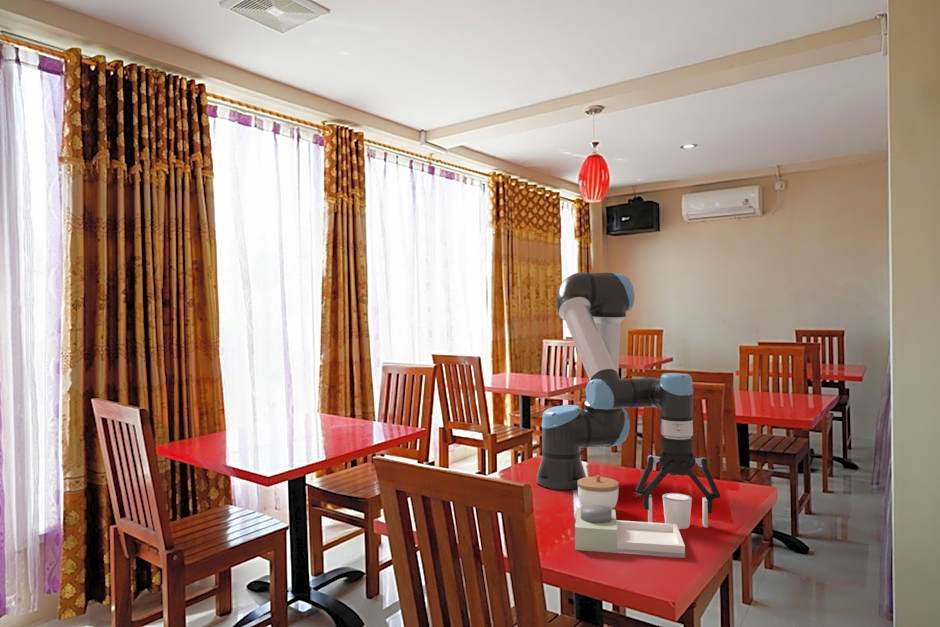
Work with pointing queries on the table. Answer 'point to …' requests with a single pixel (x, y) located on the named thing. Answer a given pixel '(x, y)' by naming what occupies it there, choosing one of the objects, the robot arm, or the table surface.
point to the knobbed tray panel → (625, 534)
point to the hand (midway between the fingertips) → (677, 524)
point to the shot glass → (677, 509)
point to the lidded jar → (598, 491)
